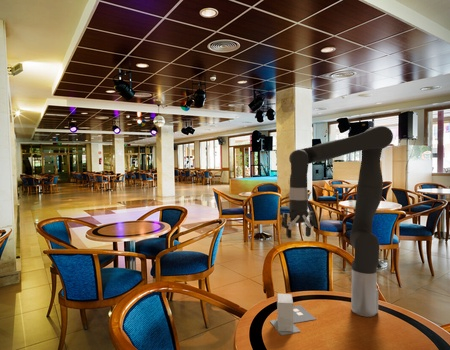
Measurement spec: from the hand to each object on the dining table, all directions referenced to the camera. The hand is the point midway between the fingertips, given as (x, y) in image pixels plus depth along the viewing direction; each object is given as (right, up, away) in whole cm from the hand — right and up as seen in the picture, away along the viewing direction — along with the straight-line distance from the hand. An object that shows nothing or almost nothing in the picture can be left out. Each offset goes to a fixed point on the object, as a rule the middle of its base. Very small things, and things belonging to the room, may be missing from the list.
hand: (298, 237), depth 124 cm
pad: (-8, -31, -13) cm, 34 cm away
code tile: (-2, -30, -3) cm, 31 cm away
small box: (-8, -31, -12) cm, 34 cm away
